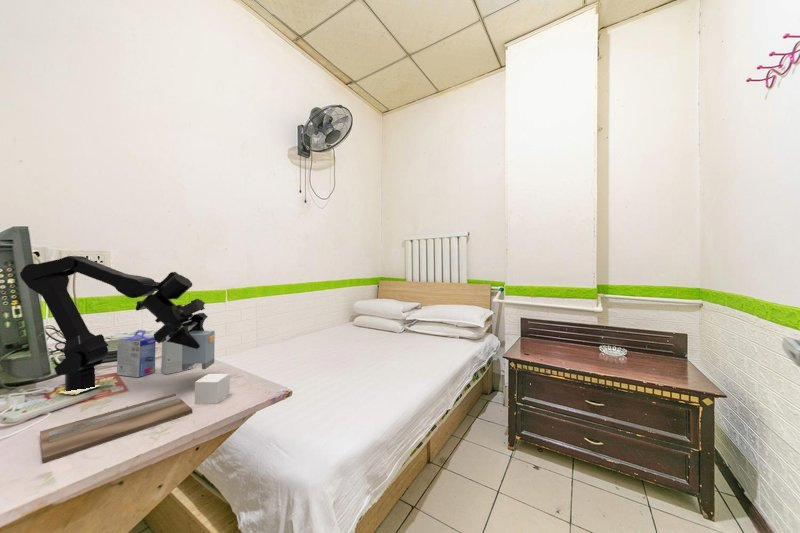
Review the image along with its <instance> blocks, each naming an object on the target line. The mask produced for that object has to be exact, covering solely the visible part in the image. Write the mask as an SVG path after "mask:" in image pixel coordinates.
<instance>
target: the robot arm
mask: <svg viewBox="0 0 800 533" xmlns="http://www.w3.org/2000/svg"><path fill="white" fill-rule="evenodd" d="M77 273H79V274H81V275H84V276H86V277H88V278H91V279H94V280H97V281H99V282H102V283H105V284H108V285H110V286H111V287H114V289H115V290H116V292H118V293H120V294H122V295H124V296H125V297H127V298H129V299H137V298H143V297H145V298H144V299H142V300H138V301H136V306H135V310H136V311H142V310H147V311H149V312H150V313H151V314H152V315H153V316H154V317H156V318H155V320H154V321H155V322H156V323H162V324H163V325H162V326H161V327H160V328H159V329H158V330H157V331H156V332H154V334H153V337H154V340H155V341H156V343H157V344H162V342H164V341H165V340H166V337H167V336H168V335H169V337H170V339H169V340H167V342H172V343H176V344H180V345H184V346H188V347H191V348H195V349H198V348H199V347H200V345H199V344H198V343H197V341H196V340H195V339H194V338H193V337H192V336H191V335H190V334H189V332H191V331H205V328H204V322H205V321H206V319H208V315H207V314H206V313H205V312H199V311H203V310H205V309H206V308H205V304H206V302H204V301H203V300H202V299H199V298H196V299H193V300H190V302H189V303H186V304H184V305H182V304H177V305H176V304H175V303H174V302H173V301H172V300H178V299H180V298H181V297H182V296H183V295H184V294H185V293H186V292H188V291H189V290H190V289H191V288H192V286H193V283H192V281H191V280H190V279H189V278H187V277H185V276H184V275H182V274H179V273H178V272H176V271H171V272H170V273H168V274H167V276H166V277H165V278H163V280H161V281H159V282H158V281H155V279H153V278H150V277H145V276H141V275H137V274H136V275H135V274H128V273H124V272H122V271H119V270H117V269H115V268H111V267H110V266H109V267H108V266H107V265H104V264H101V263H99V262H96V261H94V260H92V259H89V258H87V257H86V256H81V255H80V256H79V255H68V256H64V257H61V258H59V259H58V258H57V259H54V260H49V261H45V262H41V263H40V262H39V263H29V264H27V265H25V266H24V267H23V268H22V269H21V271H20V273H19V276H20V279H21V280H22V281H23V283H24V284H25V285H26V287H27V288H28V289H30V290H32V291H33V292H35V293H36V294H38V295H39V296H41V297H42V299H43V300H44V302H45V304H46V306H47V308H48V309H49V311H50V313H51V315H52V317H53V319H54V320H55V323H56V324H57V326H58V328H59V330H60V331H61V333H62V335H63V337H64V340H65V343H64V347H63V354H64V359H62V361H60V362H59V363H58V364H57V365H56V366H55V367H54V371H55V373H56V376H61V375H62V376H63V375H64V389H65V390H66V391H71V390H77V389H86V388H90V387H95V384H96V371H95V370H96V369H95V367H96V366H100V365H101V364H102V362H103V360H104V359H105V358H106V357H107V354H108V352H109V349H108V347H109V346H110V345H109V344H108V343H107V341H106V339H105V337H104V335H103V334H101V333H100V334H97V335H95V334H94V333H92V332H90V330H89V328H88V326H87V325H86V322H85V321H84V319H83V318H82V315H81V314H80V312H79V309H78V308H77V306H76V304H75V302H74V301H73V298H72V296H71V294H70V293H69V291H68V286H69V282H70V278H69V276H72V275H75V274H77Z"/></svg>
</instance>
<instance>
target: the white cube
mask: <svg viewBox="0 0 800 533" xmlns="http://www.w3.org/2000/svg"><path fill="white" fill-rule="evenodd" d="M230 377H231V376H230V373H208V374H206V375H205V376H203V377H201V378H199V379H198V380H196V381H194V404H196V405H216V404H217V403H218V402H219V403H221V401H223V400H224V399H225V398H227V397H228V396H229V395H230V394H229V393H230V392H231V391H230V381H231V380H230ZM228 394H229V395H228ZM227 395H228V396H227ZM224 397H225V398H224ZM223 398H224V399H223ZM222 399H223V400H222ZM219 403H218V404H219Z"/></svg>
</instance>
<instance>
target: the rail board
mask: <svg viewBox="0 0 800 533" xmlns="http://www.w3.org/2000/svg"><path fill="white" fill-rule="evenodd" d="M190 414H193V408H192V407H191V406H190V405H188V403H186V402H185V401H184V400H183V399H182V398H181V397H180V396H179V395H177V393H172V394H168V395H164V396H161V397H158V398H154V399H151V400H146V401H144V402H140V403H139V402H138V403H137V404H134V405H133V404H132V405H129V406H126V407H122V408H119V409H116V410H111V411H107V412H104V413H101V414H97V415H94V416H90V417H87V418H83V419H80V420H75V421H72V422H69V423H65V424H62V425H59V426H54V427H51V428H47V429H43V430H40V432H39V435H40V436H39V438H40V448H41V450H40V451H41V461H42V464H44V463H47V462H51V461H54V460H57V459H60V458H63V457H66V456H69V455H71V454H75V453H77V452H80V451H83V450H86V449H89V448H93V447H96V446H99V445H102V444H104V443H107V442H111V441H113V440H116V439H119V438H122V437H125V436H128V435H131V434H134V433H137V432H140V431H143V430H146V429H149V428H152V427H155V426H158V425H161V424H163V423H166V422H170V421H172V420H175V419H179V418H182V417H185V416H187V415H190Z"/></svg>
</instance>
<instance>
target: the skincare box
mask: <svg viewBox="0 0 800 533" xmlns="http://www.w3.org/2000/svg"><path fill="white" fill-rule="evenodd" d="M169 339H170V337H169V335H168V336H167V337H166V340H165V341H164V342H162V343H161V363H160V364H161V365H160V370H161V372H162V373H163V374H164V375H165V376H166V375H171V374H175V373H179V372H183V371H189V370H192V369H193V368H194V365H193V366H191V367H189V368H188V369H189V370H188V369H186V370H182V345H180V344H176V343H172V342H167V340H169Z"/></svg>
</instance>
